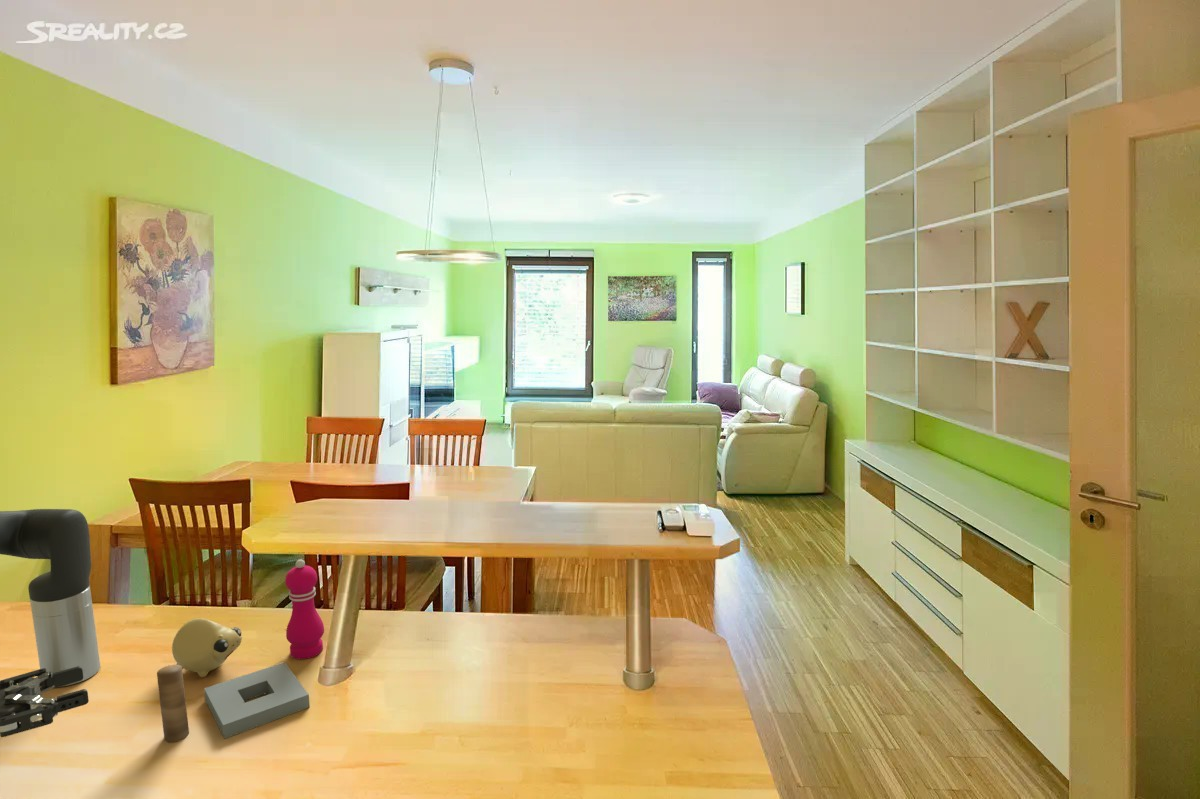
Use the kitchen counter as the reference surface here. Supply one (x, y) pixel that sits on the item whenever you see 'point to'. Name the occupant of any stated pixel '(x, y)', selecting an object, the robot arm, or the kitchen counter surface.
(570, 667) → the kitchen counter surface
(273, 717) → the socket
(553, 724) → the kitchen counter surface
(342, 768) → the kitchen counter surface
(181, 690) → the pin
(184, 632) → the beige animal figure
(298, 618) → the pepper mill
